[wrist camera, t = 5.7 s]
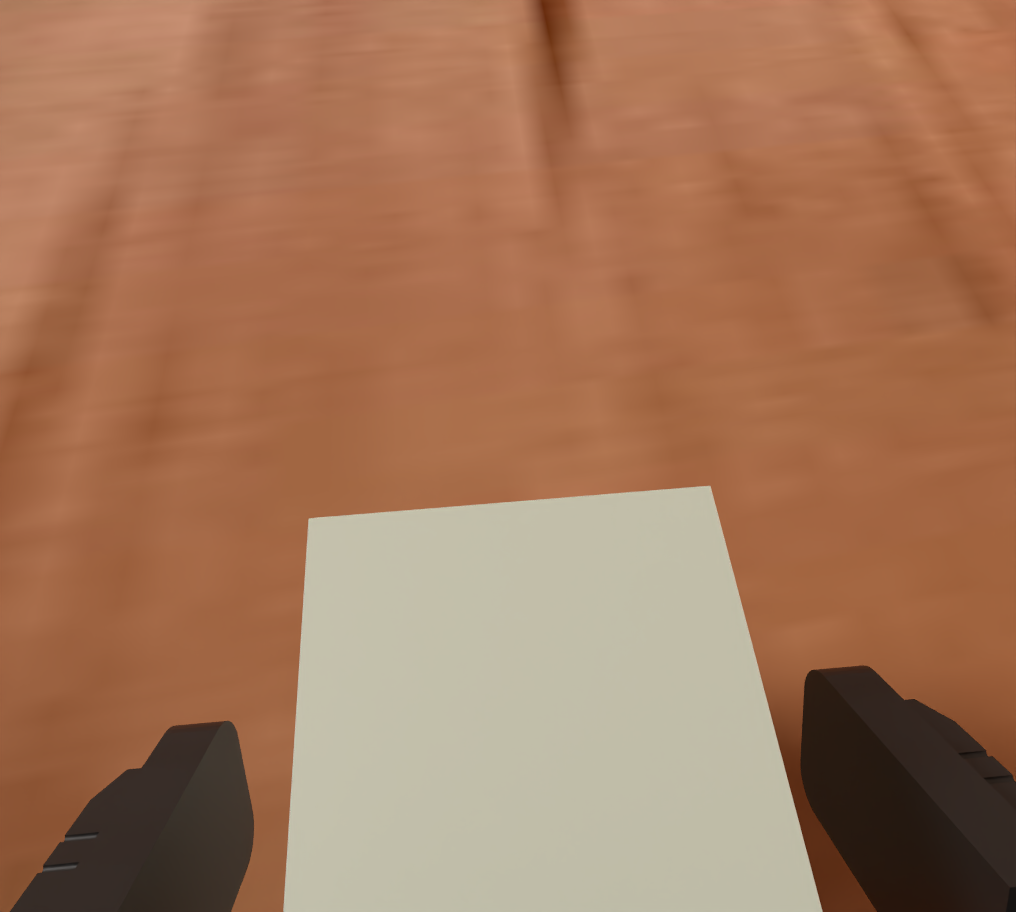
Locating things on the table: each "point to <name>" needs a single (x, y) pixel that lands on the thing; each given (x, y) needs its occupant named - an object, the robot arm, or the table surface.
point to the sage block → (535, 716)
